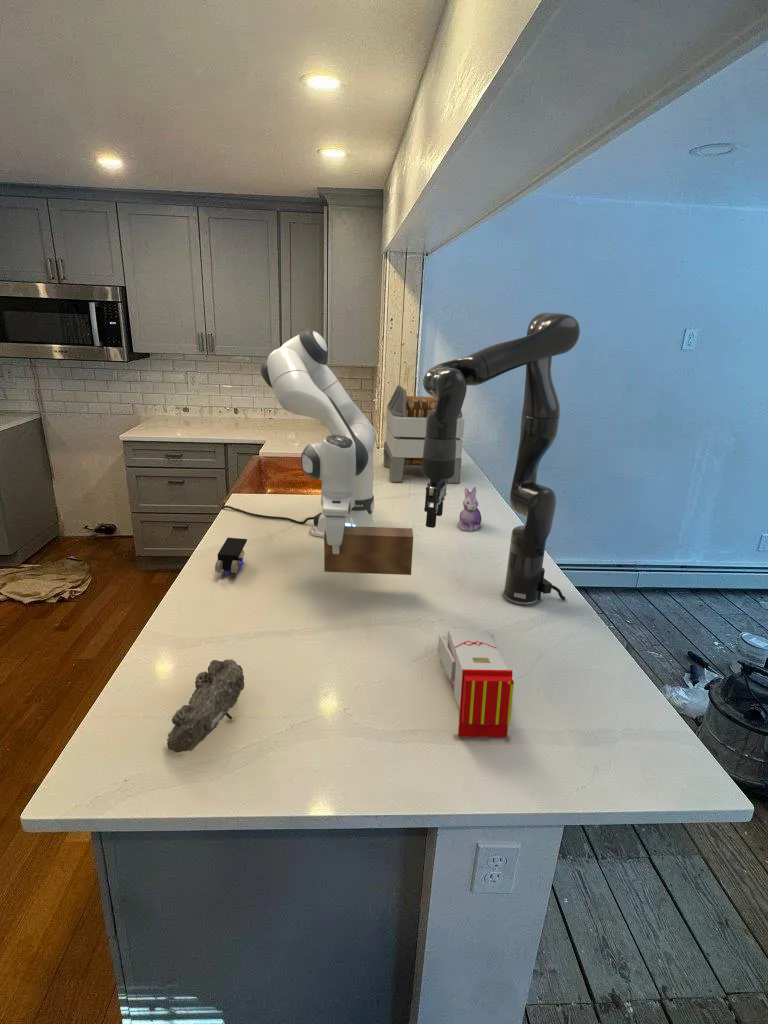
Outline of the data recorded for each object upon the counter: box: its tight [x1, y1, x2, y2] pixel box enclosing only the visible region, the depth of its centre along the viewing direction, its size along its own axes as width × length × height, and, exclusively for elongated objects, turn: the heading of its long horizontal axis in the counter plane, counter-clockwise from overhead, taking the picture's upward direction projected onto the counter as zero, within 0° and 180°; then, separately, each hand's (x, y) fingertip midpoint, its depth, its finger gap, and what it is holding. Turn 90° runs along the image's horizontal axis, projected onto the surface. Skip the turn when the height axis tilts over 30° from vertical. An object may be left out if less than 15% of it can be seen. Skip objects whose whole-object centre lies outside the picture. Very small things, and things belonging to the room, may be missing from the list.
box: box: [323, 526, 414, 576], centre depth 152 cm, size 23×6×11 cm, turn 90°
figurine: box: [458, 486, 482, 532], centre depth 206 cm, size 9×10×15 cm
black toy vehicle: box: [214, 537, 248, 578], centre depth 166 cm, size 7×8×15 cm
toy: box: [437, 628, 515, 738], centre depth 117 cm, size 12×13×30 cm
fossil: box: [166, 658, 245, 754], centre depth 106 cm, size 22×10×15 cm
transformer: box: [383, 384, 465, 484], centre depth 268 cm, size 34×33×41 cm
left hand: (337, 547), depth 152 cm, fingers closed on box, 6 cm apart
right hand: (434, 521), depth 137 cm, fingers open, 8 cm apart
